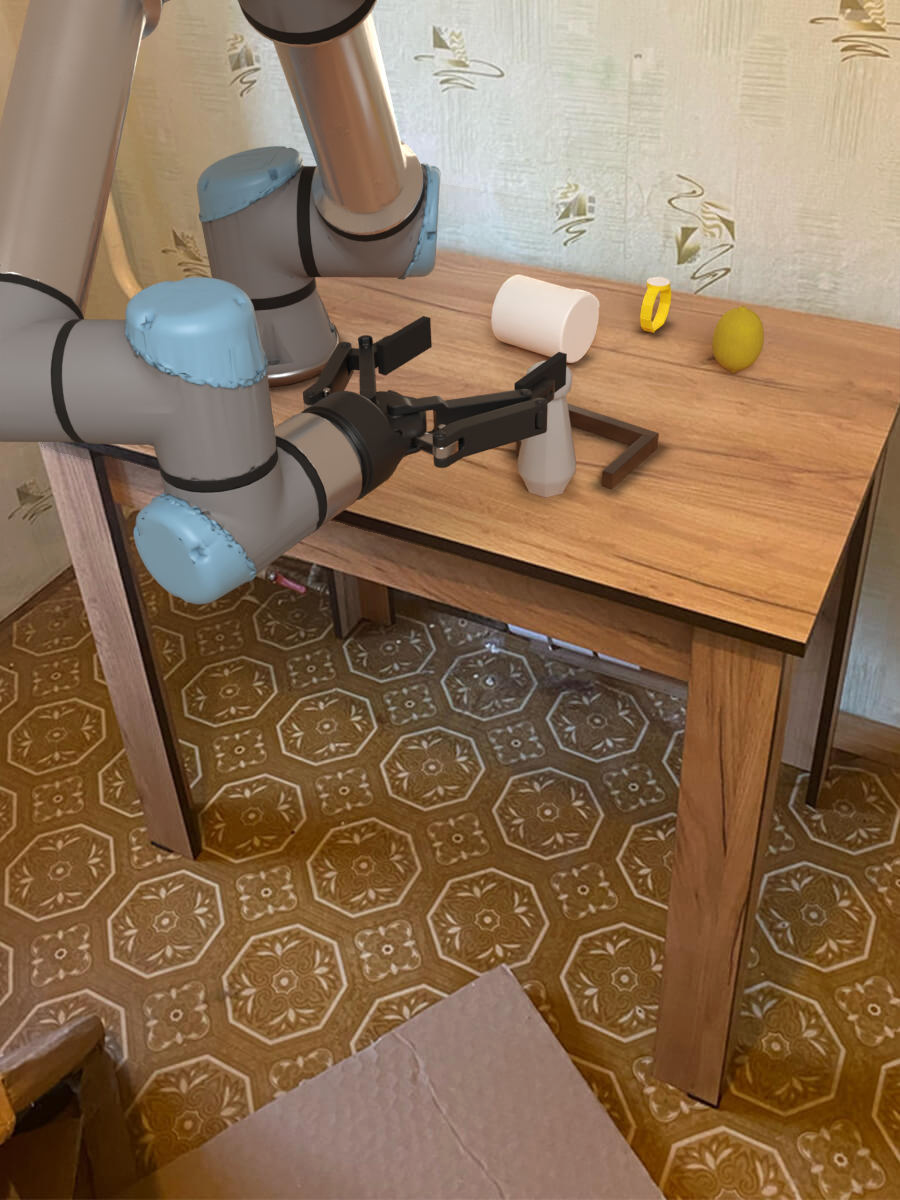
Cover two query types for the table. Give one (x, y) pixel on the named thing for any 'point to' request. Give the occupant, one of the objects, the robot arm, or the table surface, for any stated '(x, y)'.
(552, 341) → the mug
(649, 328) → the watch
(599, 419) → the walnut stop
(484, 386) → the table surface
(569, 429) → the salt shaker
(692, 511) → the table surface
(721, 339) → the lemon
